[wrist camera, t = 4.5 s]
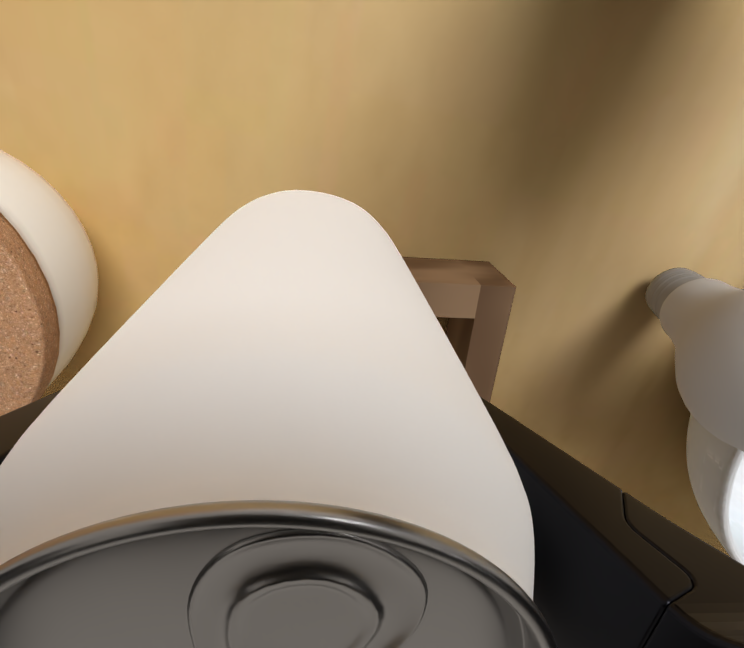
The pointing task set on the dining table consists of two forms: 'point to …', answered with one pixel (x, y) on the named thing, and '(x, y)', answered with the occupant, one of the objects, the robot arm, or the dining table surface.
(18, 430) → the robot arm
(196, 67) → the dining table surface
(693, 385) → the lightbulb
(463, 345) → the sleeve block
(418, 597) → the can
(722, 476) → the serving bowl
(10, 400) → the lidded jar
